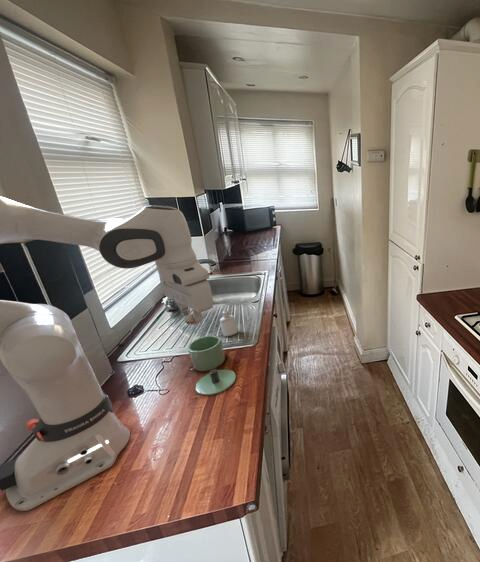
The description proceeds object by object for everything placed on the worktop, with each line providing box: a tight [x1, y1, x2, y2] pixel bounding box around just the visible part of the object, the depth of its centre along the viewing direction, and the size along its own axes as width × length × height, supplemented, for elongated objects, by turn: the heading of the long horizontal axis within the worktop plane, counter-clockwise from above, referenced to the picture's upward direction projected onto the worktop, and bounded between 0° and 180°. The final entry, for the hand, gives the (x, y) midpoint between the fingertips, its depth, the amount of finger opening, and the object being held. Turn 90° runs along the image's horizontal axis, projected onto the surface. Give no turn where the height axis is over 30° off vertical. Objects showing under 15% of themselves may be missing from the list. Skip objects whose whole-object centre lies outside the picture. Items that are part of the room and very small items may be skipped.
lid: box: [195, 368, 237, 396], centre depth 100 cm, size 12×12×5 cm
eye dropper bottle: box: [219, 307, 238, 337], centre depth 128 cm, size 4×6×12 cm
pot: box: [187, 334, 226, 372], centre depth 110 cm, size 10×10×8 cm
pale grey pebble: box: [184, 313, 204, 326], centre depth 84 cm, size 4×5×2 cm
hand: (192, 317), depth 83 cm, fingers closed on pale grey pebble, 5 cm apart
